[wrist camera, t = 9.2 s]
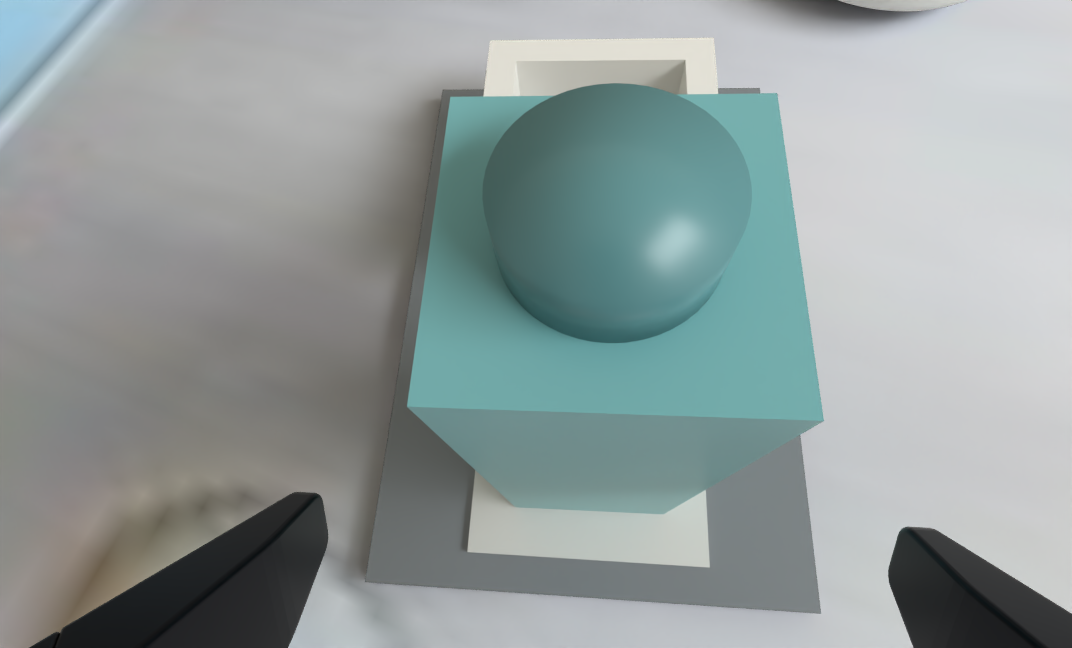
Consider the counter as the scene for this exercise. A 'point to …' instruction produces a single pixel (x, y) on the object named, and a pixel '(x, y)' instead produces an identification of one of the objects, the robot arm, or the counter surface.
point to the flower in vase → (903, 4)
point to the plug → (614, 296)
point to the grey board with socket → (574, 535)
